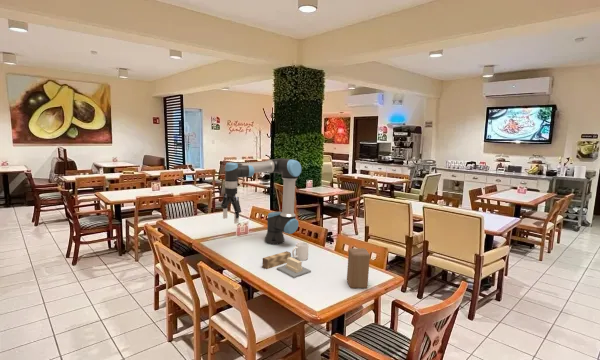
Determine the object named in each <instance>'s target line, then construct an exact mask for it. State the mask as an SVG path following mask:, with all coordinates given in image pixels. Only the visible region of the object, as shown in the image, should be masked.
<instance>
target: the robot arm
mask: <svg viewBox="0 0 600 360" xmlns="http://www.w3.org/2000/svg"><path fill="white" fill-rule="evenodd" d="M224 167H225V168H224V171H225V172H224V175H225V176H224V184H225V185H224V194H223V198H222V200H221V204H220V207H222V218H223V219H224V220H225V219H228V207H229V204H231V205H232V209H233V210H234V215H233V216H234V218H233V221H234V222H233V224H239V223H240V222H239V219H240V214H241V213H242V209H241V204H240V201H239V198H240V197H239V196H236V195H237V194H238V178H250V177H253V176H254V174H257V173H258V174H259V173H266V172H268V173H269V174H273V173H275V174H279V175H281V179H282V180H283V185H282V187H283V188H282V189H283V190H282V204H281V205H282V206H281V207H282V209H281V211H271V212H269V213H268V214H267V228H266V230H267V231H266V234H265V237H264V243H266V244H268V245H269V244H270V245H280V244H284V243H285V237H284V234H283V233H285V234H288V235H292V234H294V233H295V232H296V231H297V230H298V228H299V220H298V219H297V218H296V216H297V214H296V213H295V199H296V198H295V195H296V181H297V180H298V179H299V176H300V175H301V173H302V165H301V163H300V162H299V161H298V160H295V159H291V158H282V157H281V158H274V159H268V160H265V161H254V162H253V161H252V162H249V161H248V162H240V163H239V162H238V163H237V162H226V163H225V166H224Z"/></svg>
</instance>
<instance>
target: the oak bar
mask: <svg viewBox="0 0 600 360" xmlns="http://www.w3.org/2000/svg"><path fill="white" fill-rule="evenodd" d="M289 257H292V253H291V252H290V251H287V250H286V251H284V252H279V253H276V254H272V255H269V256H268V255H267V256H264V257H263V258H262V268H263V269H265V270H269V269H271V268H275V267H279V266H281V265H282V266H283V265H284V264H285V265H286V264H287V258H289Z"/></svg>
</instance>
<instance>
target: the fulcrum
mask: <svg viewBox="0 0 600 360" xmlns="http://www.w3.org/2000/svg"><path fill="white" fill-rule="evenodd" d="M302 263H303V261H300V260H297V259H296V258H295V257H293V256H291V257H289V258H287V263H285V265H284V264H283V265H282V266H281V265H280V266H277V267H276V270H277V271H279V272H281V273H283V274H285V275H287V276H289V277H291V278H293V279H297V278H299V277H302V276H304V275H307V274H310V273H312V270H310V269H309V268H306V267H305V266H303V265H302Z"/></svg>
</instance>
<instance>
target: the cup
mask: <svg viewBox="0 0 600 360" xmlns="http://www.w3.org/2000/svg"><path fill="white" fill-rule="evenodd" d="M291 256H292V258H294V259H296V260H299V261H301V262H303V261H307V260H308V258H309V243H308V242H305V241H299V242H296V244H295V246H294V247H293V249H292V253H291Z"/></svg>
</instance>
